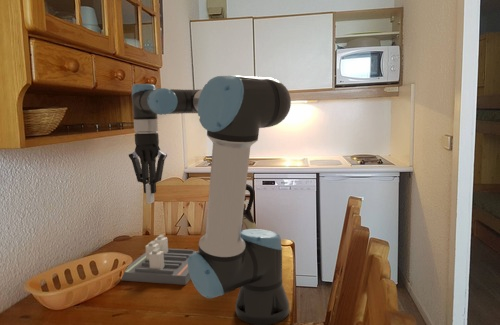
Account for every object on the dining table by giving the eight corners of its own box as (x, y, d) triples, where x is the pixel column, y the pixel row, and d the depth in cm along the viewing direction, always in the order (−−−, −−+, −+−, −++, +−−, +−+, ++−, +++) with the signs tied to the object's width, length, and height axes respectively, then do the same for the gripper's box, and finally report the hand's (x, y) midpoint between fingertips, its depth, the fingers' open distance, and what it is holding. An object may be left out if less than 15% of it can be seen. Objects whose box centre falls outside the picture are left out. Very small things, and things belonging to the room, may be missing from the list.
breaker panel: (185, 284, 122) (185, 273, 121) (120, 280, 127) (119, 269, 126) (207, 259, 143) (206, 249, 142) (150, 256, 148) (150, 246, 148)
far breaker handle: (164, 254, 140) (163, 237, 140) (155, 254, 141) (154, 237, 140) (168, 251, 143) (167, 234, 142) (158, 251, 144) (157, 234, 143)
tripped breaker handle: (160, 270, 126) (159, 251, 125) (150, 270, 127) (148, 251, 126) (164, 267, 129) (163, 248, 128) (154, 266, 130) (152, 248, 129)
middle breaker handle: (156, 261, 134) (155, 243, 133) (146, 261, 134) (145, 243, 134) (160, 258, 137) (159, 241, 136) (150, 258, 137) (149, 240, 137)
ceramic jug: (215, 266, 136) (211, 187, 132) (227, 251, 150) (224, 179, 147) (260, 269, 131) (257, 187, 128) (268, 253, 146) (266, 179, 142)
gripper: (169, 131, 122) (173, 200, 126) (134, 131, 125) (138, 199, 128) (159, 133, 115) (163, 206, 118) (122, 133, 118) (127, 204, 121)
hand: (150, 202), depth 123 cm, fingers closed
